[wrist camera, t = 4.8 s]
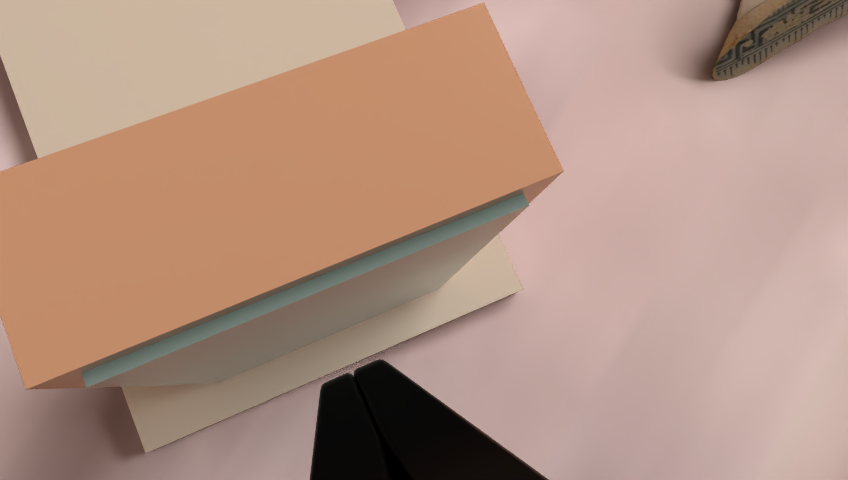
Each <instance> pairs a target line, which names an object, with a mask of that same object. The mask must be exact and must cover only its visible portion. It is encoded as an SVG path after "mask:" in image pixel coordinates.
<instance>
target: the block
mask: <svg viewBox="0 0 848 480" xmlns="http://www.w3.org/2000/svg"><path fill="white" fill-rule="evenodd" d="M562 172H563V169H562V167H561V165H560V162H559V160H558V158H557V156H556V154H555V152H554V150H553V148H552V146H551V143H550V141H549V139H548V137H547V135H546V133H545V131H544V129H543V126H542V124H541V122H540V120H539V118H538V116H537V114H536V112H535V110H534V107H533V105H532V103H531V101H530V99H529V97H528V95H527V93H526V91H525V88H524V86H523V84H522V82H521V80H520V78H519V76H518V74H517V72H516V69H515V67H514V65H513V63H512V61H511V59H510V57H509V55H508V52H507V50H506V48H505V46H504V44H503V42H502V40H501V38H500V36H499V33H498V31H497V29H496V27H495V25H494V23H493V21H492V19H491V17H490V14H489V12H488V10H487V8H486V6H485V4H484V3H481V4H478V5H476V6H473V7H470V8H467V9H464V10H461V11H458V12H456V13H453V14H450V15H447V16H444V17H441V18H438V19H436V20H433V21H430V22H427V23H424V24H421V25H418V26H415V27H413V28H410V29H407V30H404V31H401V32H398V33H395V34H393V35H390V36H387V37H384V38H381V39H378V40H375V41H373V42H370V43H367V44H364V45H361V46H358V47H355V48H353V49H350V50H347V51H344V52H341V53H338V54H335V55H332V56H330V57H327V58H324V59H321V60H318V61H315V62H312V63H310V64H307V65H304V66H301V67H298V68H295V69H292V70H290V71H287V72H284V73H281V74H278V75H275V76H272V77H270V78H267V79H264V80H261V81H258V82H255V83H252V84H250V85H247V86H244V87H241V88H238V89H235V90H232V91H229V92H227V93H224V94H221V95H218V96H215V97H212V98H209V99H207V100H204V101H201V102H198V103H195V104H192V105H189V106H187V107H184V108H181V109H178V110H175V111H172V112H169V113H167V114H164V115H161V116H158V117H155V118H152V119H149V120H147V121H144V122H141V123H138V124H135V125H132V126H129V127H126V128H124V129H121V130H118V131H115V132H112V133H109V134H106V135H104V136H101V137H98V138H95V139H92V140H89V141H86V142H84V143H81V144H78V145H75V146H72V147H69V148H66V149H64V150H61V151H58V152H55V153H52V154H49V155H46V156H43V157H41V158H38V159H35V160H32V161H29V162H26V163H23V164H21V165H18V166H15V167H12V168H9V169H6V170H3V171H1V172H0V317H1V319H2V322H3V325H4V328H5V331H6V334H7V337H8V340H9V343H10V345H11V348H12V351H13V354H14V357H15V360H16V363H17V366H18V369H19V371H20V374H21V377H22V380H23V383H24V386H25V389H26V390H27V389H57V388H89V387H120V386H150V385H181V384H211V383H219V382H222V381H224V380H226V379H229V378H231V377H233V376H236V375H238V374H241V373H243V372H245V371H248V370H250V369H252V368H255V367H257V366H259V365H262V364H264V363H266V362H269V361H271V360H273V359H276V358H278V357H281V356H283V355H285V354H288V353H290V352H292V351H295V350H297V349H299V348H302V347H304V346H306V345H309V344H311V343H314V342H316V341H318V340H321V339H323V338H325V337H328V336H330V335H332V334H335V333H337V332H339V331H342V330H344V329H346V328H349V327H351V326H354V325H356V324H358V323H361V322H363V321H365V320H368V319H370V318H372V317H375V316H377V315H379V314H382V313H384V312H387V311H389V310H391V309H394V308H396V307H398V306H401V305H403V304H405V303H408V302H410V301H412V300H415V299H417V298H419V297H422V296H424V295H427V294H429V293H431V292H434V291H436V290H438V289H439V288H440V287H441V286H443V285H444V284H445V283H446V282H447V281H448V280H449V279H450V278H451V277H452V276H453V275H454V274H456V273H457V272H458V271H459V270H460V269H461V268H462V267H463V266H464V265H465V264H466V263H467V262H468V261H470V260H471V259H472V258H473V257H474V256H475V255H476V254H477V253H478V252H479V251H480V250H481V249H482V248H484V247H485V246H486V245H487V244H488V243H489V242H490V241H491V240H492V239H493V238H494V237H495V236H497V235H498V234H499V233H500V232H501V231H502V230H503V229H504V228H505V227H506V226H507V225H508V224H509V223H511V222H512V221H513V220H514V219H515V218H516V217H517V216H518V215H519V214H520V213H521V212H522V211H523V210H525V209H526V208H527V207H528V206H529V203H530V202H531V201H532V200H533V199H534V198H536V197H537V196H538V195H539V194H540V193H541V192H542V191H543V190H544V189H545V188H546V187H547V186H548V185H549V184H550V183H552V182H553V181H554V180H555V179H556V178H557V177H558V176H559V175H560V174H561V173H562Z"/></svg>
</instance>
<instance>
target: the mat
mask: <svg viewBox="0 0 848 480" xmlns="http://www.w3.org/2000/svg"><path fill="white" fill-rule="evenodd" d="M404 30H406V29H405V27H404V24H403V22H402V20H401V18H400V16H399V13H398V11H397V9H396V7H395V5H394V2H393V0H0V56H1V59H2V62H3V64H4V67H5V70H6V73H7V75H8V78H9V81H10V84H11V86H12V89H13V92H14V94H15V97H16V100H17V103H18V105H19V108H20V111H21V114H22V116H23V119H24V122H25V125H26V127H27V130H28V133H29V136H30V138H31V141H32V144H33V147H34V149H35V152H36V155H37V157H38V158H41V157H43V156H46V155H49V154H52V153H55V152H58V151H61V150H64V149H66V148H69V147H72V146H75V145H78V144H81V143H84V142H86V141H89V140H92V139H95V138H98V137H101V136H104V135H106V134H109V133H112V132H115V131H118V130H121V129H124V128H126V127H129V126H132V125H135V124H138V123H141V122H144V121H147V120H149V119H152V118H155V117H158V116H161V115H164V114H167V113H169V112H172V111H175V110H178V109H181V108H184V107H187V106H189V105H192V104H195V103H198V102H201V101H204V100H207V99H209V98H212V97H215V96H218V95H221V94H224V93H227V92H229V91H232V90H235V89H238V88H241V87H244V86H247V85H250V84H252V83H255V82H258V81H261V80H264V79H267V78H270V77H272V76H275V75H278V74H281V73H284V72H287V71H290V70H292V69H295V68H298V67H301V66H304V65H307V64H310V63H312V62H315V61H318V60H321V59H324V58H327V57H330V56H332V55H335V54H338V53H341V52H344V51H347V50H350V49H353V48H355V47H358V46H361V45H364V44H367V43H370V42H373V41H375V40H378V39H381V38H384V37H387V36H390V35H393V34H395V33H398V32H401V31H404ZM522 289H523V287H522V284H521V282H520V280H519V278H518V276H517V273H516V271H515V269H514V267H513V265H512V262H511V260H510V258H509V256H508V254H507V251H506V249H505V247H504V245H503V243H502V240H501V238H500V236H499V234H498V235H497V236H495V237H494V238H493V239H492V240H491V241H490V242H489V243H488V244H487V245H486V246H485V247H484V248H482V249H481V250H480V251H479V252H478V253H477V254H476V255H475V256H474V257H473V258H472V259H471V260H470V261H468V262H467V263H466V264H465V265H464V266H463V267H462V268H461V269H460V270H459V271H458V272H457V273H456V274H454V275H453V276H452V277H451V278H450V279H449V280H448V281H447V282H446V283H445V284H444V285H443V286H441V287H440V288H439V289H438V290H436V291H434V292H431V293H429V294H427V295H424V296H422V297H419V298H417V299H415V300H412V301H410V302H408V303H405V304H403V305H401V306H398V307H396V308H394V309H391V310H389V311H387V312H384V313H382V314H379V315H377V316H375V317H372V318H370V319H368V320H365V321H363V322H361V323H358V324H356V325H354V326H351V327H349V328H346V329H344V330H342V331H339V332H337V333H335V334H332V335H330V336H328V337H325V338H323V339H321V340H318V341H316V342H314V343H311V344H309V345H306V346H304V347H302V348H299V349H297V350H295V351H292V352H290V353H288V354H285V355H283V356H281V357H278V358H276V359H273V360H271V361H269V362H266V363H264V364H262V365H259V366H257V367H255V368H252V369H250V370H248V371H245V372H243V373H241V374H238V375H236V376H233V377H231V378H229V379H226V380H224V381H222V382H219V383H211V384H181V385H150V386H121V388H122V390H123V393H124V396H125V399H126V401H127V404H128V407H129V410H130V412H131V415H132V418H133V420H134V423H135V426H136V429H137V431H138V434H139V437H140V440H141V442H142V445H143V448H144V451H145V453H148V452H150V451H153V450H155V449H157V448H160V447H162V446H164V445H167V444H169V443H171V442H174V441H176V440H178V439H180V438H183V437H185V436H187V435H190V434H192V433H194V432H197V431H199V430H201V429H203V428H206V427H208V426H210V425H213V424H215V423H217V422H220V421H222V420H224V419H226V418H229V417H231V416H233V415H236V414H238V413H240V412H243V411H245V410H247V409H249V408H252V407H254V406H256V405H259V404H261V403H263V402H266V401H268V400H270V399H272V398H275V397H277V396H279V395H282V394H284V393H286V392H289V391H291V390H293V389H295V388H298V387H300V386H302V385H305V384H307V383H309V382H312V381H314V380H316V379H318V378H321V377H323V376H325V375H328V374H330V373H332V372H335V371H337V370H339V369H341V368H344V367H346V366H348V365H351V364H353V363H355V362H358V361H360V360H362V359H364V358H367V357H369V356H371V355H374V354H376V353H378V352H381V351H383V350H385V349H387V348H390V347H392V346H394V345H397V344H399V343H401V342H403V341H406V340H408V339H410V338H413V337H415V336H417V335H420V334H422V333H424V332H426V331H429V330H431V329H433V328H436V327H438V326H440V325H443V324H445V323H447V322H449V321H452V320H454V319H456V318H459V317H461V316H463V315H466V314H468V313H470V312H472V311H475V310H477V309H479V308H482V307H484V306H486V305H489V304H491V303H493V302H495V301H498V300H500V299H502V298H505V297H507V296H509V295H512V294H514V293H516V292H518V291H520V290H522Z"/></svg>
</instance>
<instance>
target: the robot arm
mask: <svg viewBox="0 0 848 480" xmlns="http://www.w3.org/2000/svg"><path fill="white" fill-rule="evenodd" d="M354 378H355V379H354ZM310 480H548V479H547V478H546V477H544V476H543V475H541V474H540V473H539V472H537V471H536V470H535V469H533V468H532V467H530V466H529V465H528V464H526V463H525V462H524V461H522V460H521V459H519V458H518V457H517V456H515V455H514V454H513V453H511V452H510V451H508V450H507V449H506V448H504V447H503V446H502V445H500V444H499V443H498V442H496V441H495V440H493V439H492V438H491V437H489V436H488V435H487V434H485V433H484V432H482V431H481V430H480V429H478V428H477V427H476V426H474V425H473V424H471V423H470V422H469V421H467V420H466V419H465V418H463V417H462V416H460V415H459V414H458V413H456V412H455V411H454V410H452V409H451V408H449V407H448V406H447V405H445V404H444V403H443V402H441V401H440V400H438V399H437V398H436V397H434V396H433V395H432V394H430V393H429V392H427V391H426V390H425V389H423V388H422V387H421V386H419V385H418V384H416V383H415V382H414V381H412V380H411V379H410V378H408V377H407V376H405V375H404V374H403V373H401V372H400V371H399V370H397V369H396V368H394V367H393V366H392V365H390V364H389V363H388V362H386V361H384V360H380V359H379V360H376V361H374V362H371V363H369V364H367V365H364V366H362V367H360V368H358V369H356V370H355V371H354V377H353V375H352V374H350V373H346V374H344V375H342V376H339V377H337V378H335V379H332V380H330V381H328V382H326V383H324V384H323V385H322V387H321V390H320V398H319V406H318V414H317V423H316V431H315V440H314V448H313V457H312V465H311V473H310Z"/></svg>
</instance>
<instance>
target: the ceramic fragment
mask: <svg viewBox="0 0 848 480" xmlns="http://www.w3.org/2000/svg"><path fill="white" fill-rule="evenodd" d="M847 13H848V0H741V2H740V8H739V11H738V14H737V17H736V22H735V23H734V25H733V27H732V29H731V31H730V33H729V34H728V36H727V40H726V41H725V43H724V45H723V47H722V50H721V52H720V54H719V56H718V58H717V61H716V63H715V64H714V67H713V72H712V77H713V78H714V79H715V80H716V81H722V80H728V79H731V78H734V77H737V76H739V75H741V74H743V73H745V72H747V71H749V70H751V69H752V68H754V67H756V66H757V65H759V64H761V63H762V62H764V61H766V60H767V59H769V58H770V57H772V56H773V55H775V54H777V53H778V52H780V51H781V50H783V49H785V48H787V47H788V46H790V45H792V44H794V43H796V42H798V41H799V40H801V39H803V38H804V37H806V36H807V35H808V34H810V33H811V32H813V31H814V30H816V29H817V28H819V27H821V26H822V25H824V24H827V23H829V22H832V21H834V20H836V19H839V18H840V17H842V16H844V15H845V14H847Z"/></svg>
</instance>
